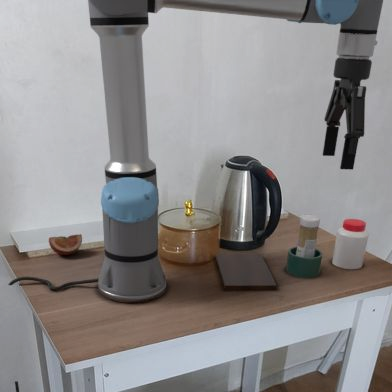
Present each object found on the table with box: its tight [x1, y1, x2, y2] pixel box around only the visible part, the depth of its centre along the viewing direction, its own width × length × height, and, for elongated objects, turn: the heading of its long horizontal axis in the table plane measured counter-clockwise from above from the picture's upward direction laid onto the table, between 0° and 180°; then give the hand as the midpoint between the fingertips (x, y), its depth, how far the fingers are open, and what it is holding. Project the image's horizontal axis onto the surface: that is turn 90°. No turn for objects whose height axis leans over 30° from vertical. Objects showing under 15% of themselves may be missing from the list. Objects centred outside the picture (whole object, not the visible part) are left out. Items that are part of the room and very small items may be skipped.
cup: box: [285, 246, 324, 279], centre depth 137 cm, size 8×8×5 cm
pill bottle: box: [331, 218, 370, 270], centre depth 141 cm, size 8×8×11 cm
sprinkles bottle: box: [296, 214, 321, 258], centre depth 134 cm, size 5×5×13 cm
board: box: [214, 252, 278, 291], centre depth 136 cm, size 12×20×1 cm, turn 5°
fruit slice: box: [48, 234, 83, 256], centre depth 141 cm, size 8×7×5 cm
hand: (337, 162), depth 127 cm, fingers open, 13 cm apart
